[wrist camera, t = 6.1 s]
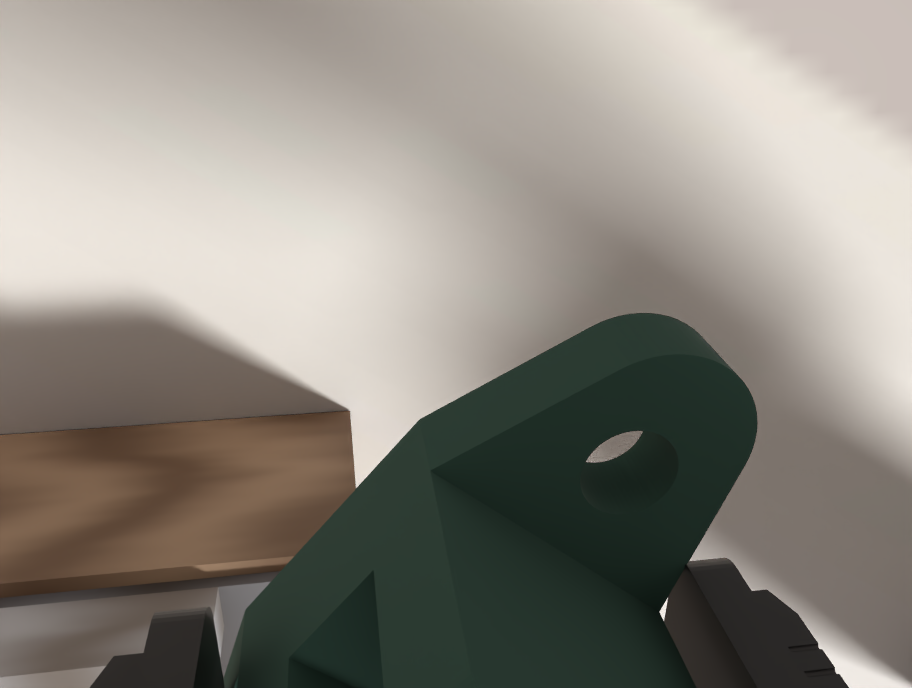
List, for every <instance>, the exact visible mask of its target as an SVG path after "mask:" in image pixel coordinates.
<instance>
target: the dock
mask: <svg viewBox="0 0 912 688" xmlns="http://www.w3.org/2000/svg"><path fill="white" fill-rule="evenodd" d="M355 489H356V486H355V472H354V459H353V446H352V433H351V420H350V411H339V412H325V413H310V414H296V415H281V416H267V417H253V418H238V419H224V420H209V421H195V422H181V423H166V424H152V425H137V426H123V427H108V428H94V429H80V430H65V431H51V432H36V433H22V434H7V435H0V688H90V686H91V685H92V684H93V682H94V681H95V680H96V678H97V677H98V676H99V675H100V673H101V672H102V671H103V669H104V668H105V667H106V665H107V664H108V663H109V662H110V660H111V659H112V658H113V656H119V655H128V654H138V653H143V652H144V648H145V644H146V640H147V636H148V631H149V627H150V623H151V620H152V617H153V615H154V613H155V612H160V611H170V610H180V609H191V608H201V607H210V608H211V610H212V613H213V618H214V624H215V630H216V636H217V642H218V648H219V654H220V660H221V667H222V673H223V678H224V675H225V672H226V669H227V665H228V662H229V659H230V656H231V653H232V650H233V647H234V644H235V640H236V637H237V634H238V631H239V628H240V625H241V622H242V619H243V616H244V612H245V609H246V608H247V607H248V606H249V605H250V604H251V603H252V602H253V601H254V600H255V599H256V597H257V596H258V595H259V594H260V593H261V592H262V591H263V590H264V589H265V588H266V587H267V585H268V584H269V583H270V582H271V581H272V580H273V579H274V578H275V577H276V576H277V575H278V573H279V572H280V571H281V570H282V569H283V568H284V567H285V566H286V565H287V564H288V563H289V561H290V560H291V559H292V558H293V557H294V556H295V555H296V554H297V553H298V552H299V551H300V549H301V548H302V547H303V546H304V545H305V544H306V543H307V542H308V541H309V540H310V539H311V537H312V536H313V535H314V534H315V533H316V532H317V531H318V530H319V529H320V528H321V527H322V525H323V524H324V523H325V522H326V521H327V520H328V519H329V518H330V517H331V516H332V515H333V513H334V512H335V511H336V510H337V509H338V508H339V507H340V506H341V505H342V504H343V503H344V501H345V500H346V499H347V498H348V497H349V496H350V495H351V494H352V493H353V492H354V491H355Z"/></svg>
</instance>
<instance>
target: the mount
mask: <svg viewBox="0 0 912 688" xmlns="http://www.w3.org/2000/svg"><path fill="white" fill-rule="evenodd" d="M630 431H643V433H642V435H641V437H640V438H639V440H638V441H637V442H636V443H635V445H634V446H633V447H632V448H631V449H629V450H628V451H627V452H625V453H624V454H622V455H621V456H619V457H617V458H614V459H612V460H609V461H605V462H599V463H589V462H586V460H587V458H588V457H589V456H590V454H591V453H592V452H593V451H594V450H595V449H596V448H597V447H598V446H599V445H600V444H602V443H603V442H605V441H606V440H608V439H610V438H611V437H614V436H616V435H619V434H621V433H625V432H630ZM756 433H757V412H756V407H755V403H754V400H753V397H752V395H751V393H750V391H749V389H748V388H747V386H746V385H745V383H744V382H743V381H742V380H741V379H740V377H739V376H738V375H737V374H736V373H735V372H734V371H733V370H732V369H731V368H730V367H729V366H728V365H727V363H726V362H725V361H724V360H723V359H722V358H721V357H720V356H719V355H718V354H717V353H716V352H715V350H714V349H713V348H712V347H711V346H710V345H709V344H708V343H707V342H706V341H705V340H704V339H703V338H702V336H701V335H700V334H699V333H698V332H696V331H695V330H694V329H693V328H691V327H690V326H688V325H687V324H685V323H683V322H681V321H679V320H677V319H674V318H672V317H669V316H664V315H660V314H652V313H636V314H627V315H622V316H618V317H614V318H611V319H608V320H605V321H603V322H600V323H598V324H596V325H594V326H592V327H590V328H588V329H586V330H584V331H583V332H581V333H579V334H577V335H575V336H573V337H571V338H570V339H568V340H566V341H564V342H562V343H560V344H558V345H557V346H555V347H553V348H551V349H549V350H547V351H546V352H544V353H542V354H540V355H538V356H536V357H534V358H533V359H531V360H529V361H527V362H525V363H523V364H521V365H520V366H518V367H516V368H514V369H512V370H510V371H508V372H507V373H505V374H503V375H501V376H499V377H497V378H495V379H494V380H492V381H490V382H488V383H486V384H484V385H483V386H481V387H479V388H477V389H475V390H473V391H471V392H470V393H468V394H466V395H464V396H462V397H460V398H458V399H457V400H455V401H453V402H451V403H449V404H447V405H445V406H444V407H442V408H440V409H438V410H436V411H434V412H433V413H431V414H429V415H427V416H425V417H423V418H421V419H420V420H419V421H418V422H417V423H416V424H415V425H414V426H413V427H412V428H411V429H410V431H409V432H408V433H407V434H406V435H405V436H404V437H403V438H402V439H401V440H400V441H399V443H398V444H397V445H396V446H395V447H394V448H393V449H392V450H391V451H390V452H389V453H388V455H387V456H386V457H385V458H384V459H383V460H382V461H381V462H380V463H379V464H378V465H377V467H376V468H375V469H374V470H373V471H372V472H371V473H370V474H369V475H368V476H367V477H366V479H365V480H364V481H363V482H362V483H361V484H360V485H359V486H358V487H357V488H356V489H355V491H354V492H353V493H352V494H351V495H350V496H349V497H348V498H347V499H346V500H345V501H344V503H343V504H342V505H341V506H340V507H339V508H338V509H337V510H336V511H335V512H334V513H333V515H332V516H331V517H330V518H329V519H328V520H327V521H326V522H325V523H324V524H323V525H322V527H321V528H320V529H319V530H318V531H317V532H316V533H315V534H314V535H313V536H312V537H311V539H310V540H309V541H308V542H307V543H306V544H305V545H304V546H303V547H302V548H301V549H300V551H299V552H298V553H297V554H296V555H295V556H294V557H293V558H292V559H291V560H290V561H289V563H288V564H287V565H286V566H285V567H284V568H283V569H282V570H281V571H280V572H279V573H278V575H277V576H276V577H275V578H274V579H273V580H272V581H271V582H270V583H269V584H268V585H267V587H266V588H265V589H264V590H263V591H262V592H261V593H260V594H259V595H258V596H257V597H256V599H255V600H254V601H253V602H252V603H251V604H250V605H249V606H248V607H247V608H246V609H245V612H244V616H243V619H242V622H241V625H240V628H239V631H238V634H237V637H236V640H235V644H234V647H233V650H232V653H231V656H230V659H229V662H228V665H227V669H226V672H225V675H224V678H223V679H224V687H225V688H696V686H695V683H694V681H693V679H692V677H691V675H690V673H689V671H688V669H687V667H686V665H685V663H684V661H683V659H682V657H681V655H680V653H679V651H678V649H677V647H676V645H675V643H674V641H673V639H672V637H671V635H670V633H669V631H668V629H667V627H666V625H665V623H664V621H663V619H662V617H661V615H660V613H659V611H660V610H661V608H662V606H663V605H664V603H665V601H666V599H667V598H668V596H669V594H670V593H671V591H672V589H673V587H674V586H675V584H676V582H677V581H678V579H679V577H680V576H681V574H682V572H683V570H684V568H685V564H688V562H689V560H690V558H691V557H692V555H693V553H694V552H695V550H696V548H697V547H698V545H699V543H700V541H701V540H702V538H703V536H704V535H705V533H706V531H707V529H708V528H709V526H710V524H711V523H712V521H713V519H714V517H715V516H716V514H717V512H718V511H719V509H720V507H721V506H722V504H723V502H724V500H725V499H726V497H727V495H728V494H729V492H730V490H731V488H732V487H733V485H734V483H735V482H736V480H737V478H738V477H739V475H740V473H741V471H742V470H743V468H744V466H745V464H746V462H747V461H748V459H749V457H750V454H751V452H752V449H753V446H754V442H755V438H756Z"/></svg>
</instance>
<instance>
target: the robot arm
mask: <svg viewBox="0 0 912 688" xmlns="http://www.w3.org/2000/svg"><path fill="white" fill-rule="evenodd" d="M664 623H665V625H666V627H667V629H668V631H669V633H670V635H671V637H672V639H673V641H674V643H675V645H676V647H677V649H678V651H679V653H680V655H681V657H682V659H683V661H684V663H685V665H686V667H687V669H688V671H689V673H690V675H691V677H692V679H693V681H694V683H695V686H696V688H849V687H848V686H847V684H846V683H845V682H844V680H843V679H842V677H841V676H840V674H836V672H835V667H834V666H833V664H832V663H831V661H830V660H829V658H828V657H827V656H826V654H825V653H824V651H823V650H822V649H819V648H818V643H817V641H816V640H815V638H814V637H813V635H812V634H811V633H810V631H809V630H808V628H807V627H806V625H805V624H804V622H803V621H802V620H801V618H800V617H799V615H798V614H797V613H796V612H795V611H793V610H792V609H791V608H789V607H788V606H787V605H786V604H784V603H783V602H782V601H781V600H779V599H778V598H777V597H776V596H774V595H773V594H772V593H770V592H769V591H768V590H759V591H751V589H750V588H749V586H748V585H747V583H746V582H745V580H744V579H743V577H742V576H741V574H740V572H739V571H738V569H737V568H736V566H735V565H734V564H733V563H732V562H731V561H730V560H729V559H727V558H718V559H708V560H698V561H689V562H688V564H685V568H684V570H683V572H682V574H681V576H680V577H679V579H678V581H677V582H676V584H675V586H674V587H673V589H672V591H671V593H670V594H669V597H668V602H667V608H666V614H665V620H664ZM90 688H225V687H224V679H223V673H222V667H221V660H220V654H219V648H218V642H217V636H216V630H215V624H214V618H213V613H212V610H211V608H210V607H201V608H191V609H180V610H170V611H160V612H155V613H154V615H153V617H152V620H151V623H150V627H149V631H148V636H147V640H146V644H145V648H144V652H143V653H138V654H128V655H119V656H113V658H112V659H111V660H110V662H109V663H108V664H107V665H106V667H105V668H104V669H103V671H102V672H101V673H100V675H99V676H98V677H97V678H96V680H95V681H94V682H93V684H92V685H91V686H90Z"/></svg>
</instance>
